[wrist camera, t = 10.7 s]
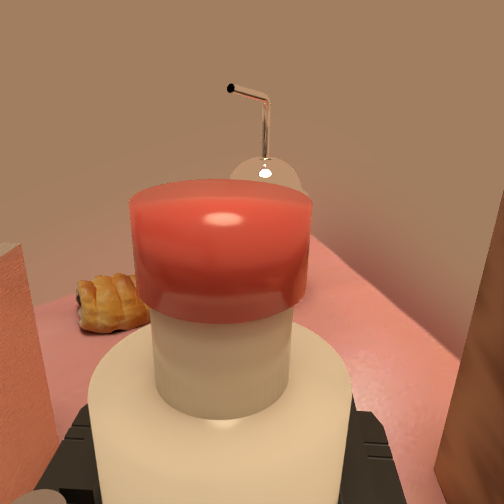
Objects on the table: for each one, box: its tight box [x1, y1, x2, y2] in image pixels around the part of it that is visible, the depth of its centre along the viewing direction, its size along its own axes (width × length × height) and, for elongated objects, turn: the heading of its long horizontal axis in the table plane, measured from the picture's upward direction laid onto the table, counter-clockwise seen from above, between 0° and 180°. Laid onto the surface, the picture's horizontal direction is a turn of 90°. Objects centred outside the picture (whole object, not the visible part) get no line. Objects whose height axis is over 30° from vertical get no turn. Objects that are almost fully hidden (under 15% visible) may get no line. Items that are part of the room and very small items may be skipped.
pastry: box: [76, 273, 151, 334], centre depth 40 cm, size 9×7×4 cm
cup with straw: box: [227, 84, 309, 197], centre depth 40 cm, size 8×9×20 cm
